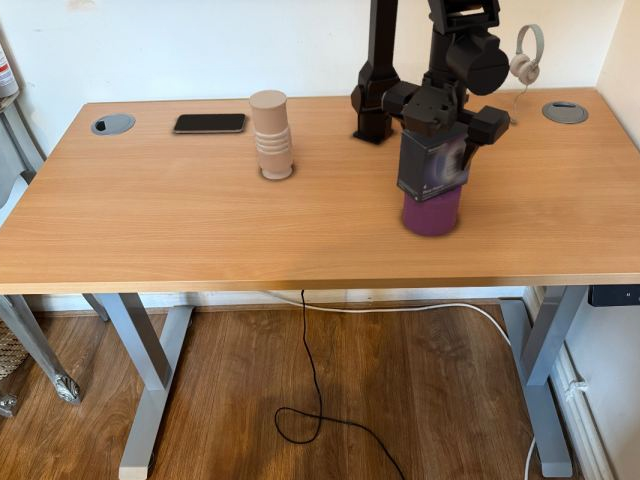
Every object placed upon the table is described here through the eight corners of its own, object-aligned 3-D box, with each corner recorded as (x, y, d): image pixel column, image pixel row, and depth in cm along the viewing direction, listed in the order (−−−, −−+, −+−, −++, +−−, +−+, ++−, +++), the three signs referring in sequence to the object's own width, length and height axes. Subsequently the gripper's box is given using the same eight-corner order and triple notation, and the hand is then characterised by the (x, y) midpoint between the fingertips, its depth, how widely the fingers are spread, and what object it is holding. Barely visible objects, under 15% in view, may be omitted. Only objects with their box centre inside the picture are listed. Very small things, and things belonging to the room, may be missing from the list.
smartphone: (241, 129, 115) (172, 130, 115) (242, 132, 115) (173, 133, 116) (245, 113, 120) (179, 114, 120) (246, 115, 120) (180, 116, 121)
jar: (392, 223, 93) (395, 190, 88) (420, 197, 98) (423, 164, 93) (439, 243, 89) (444, 210, 84) (465, 215, 94) (471, 181, 89)
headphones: (529, 130, 113) (554, 32, 98) (512, 133, 112) (535, 35, 98) (512, 111, 119) (533, 16, 104) (495, 114, 118) (514, 19, 104)
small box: (419, 206, 85) (425, 148, 77) (394, 186, 89) (398, 129, 81) (469, 184, 88) (480, 126, 81) (444, 166, 92) (451, 109, 85)
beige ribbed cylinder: (287, 183, 102) (279, 110, 91) (254, 177, 104) (242, 105, 93) (299, 163, 107) (293, 92, 96) (267, 158, 108) (257, 87, 97)
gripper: (361, 68, 74) (360, 165, 85) (485, 105, 66) (466, 206, 77) (404, 41, 80) (398, 134, 91) (522, 71, 72) (500, 170, 83)
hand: (437, 160), depth 85 cm, fingers open, 9 cm apart
